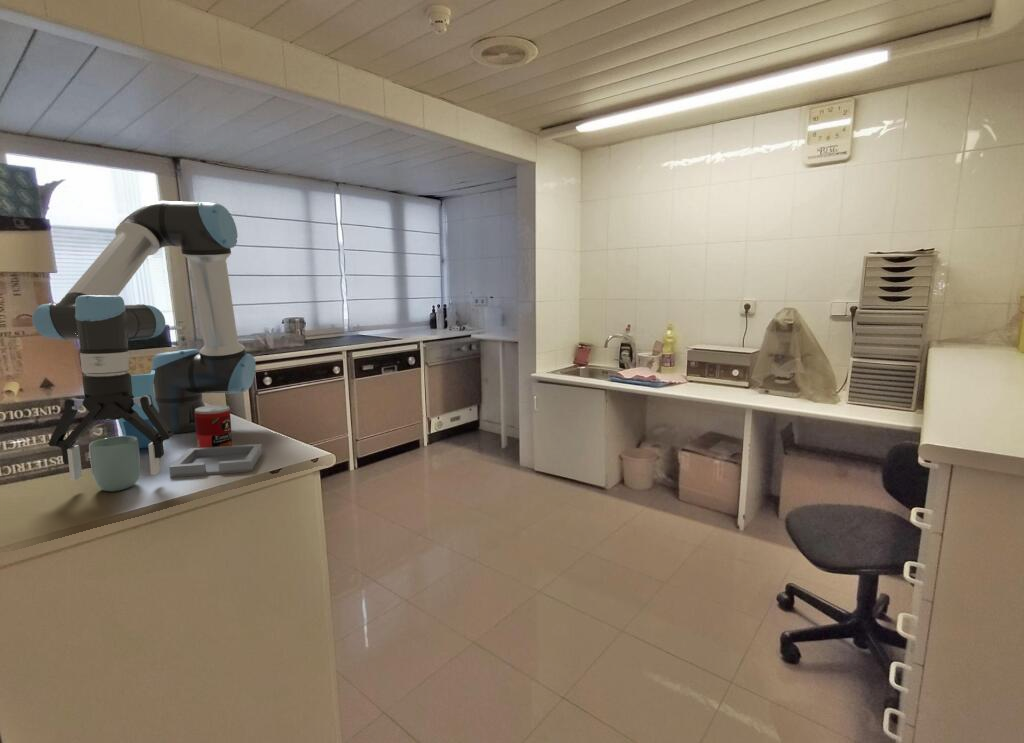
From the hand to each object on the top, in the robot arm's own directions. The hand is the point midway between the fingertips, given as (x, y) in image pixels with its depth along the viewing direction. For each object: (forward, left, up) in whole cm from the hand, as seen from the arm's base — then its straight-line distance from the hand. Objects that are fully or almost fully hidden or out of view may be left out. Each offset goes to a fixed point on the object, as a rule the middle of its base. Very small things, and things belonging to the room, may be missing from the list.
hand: (116, 475), depth 102 cm
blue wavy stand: (-27, -5, -3) cm, 28 cm away
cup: (0, 0, -3) cm, 3 cm away
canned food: (-24, +12, -3) cm, 27 cm away
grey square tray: (-11, +16, -3) cm, 20 cm away
